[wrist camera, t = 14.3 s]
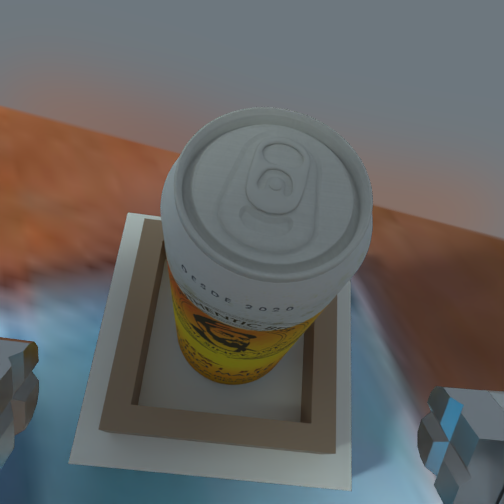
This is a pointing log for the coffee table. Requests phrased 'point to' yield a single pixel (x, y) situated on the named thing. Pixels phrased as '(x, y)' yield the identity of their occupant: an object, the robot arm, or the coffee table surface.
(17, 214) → the coffee table surface
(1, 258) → the coffee table surface
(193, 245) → the beer can
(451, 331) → the coffee table surface
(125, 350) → the display plinth
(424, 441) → the robot arm
